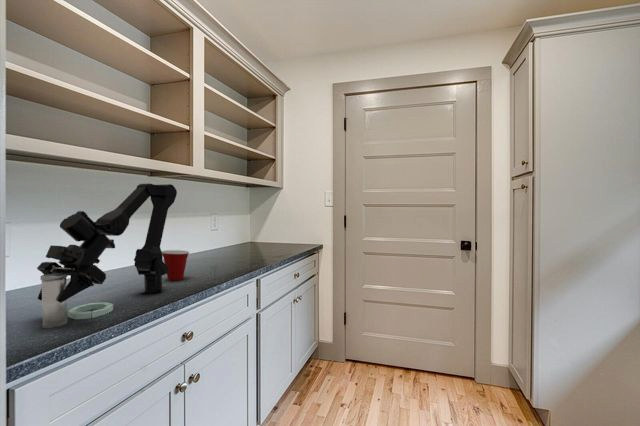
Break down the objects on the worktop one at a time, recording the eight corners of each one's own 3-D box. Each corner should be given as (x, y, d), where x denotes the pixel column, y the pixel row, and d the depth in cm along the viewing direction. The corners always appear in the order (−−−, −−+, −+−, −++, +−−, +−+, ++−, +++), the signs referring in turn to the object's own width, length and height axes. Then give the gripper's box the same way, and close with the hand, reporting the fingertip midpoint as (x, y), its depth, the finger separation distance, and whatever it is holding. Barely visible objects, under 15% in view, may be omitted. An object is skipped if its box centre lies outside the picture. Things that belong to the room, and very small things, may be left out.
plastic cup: (193, 279, 134) (193, 250, 134) (165, 283, 127) (164, 253, 127) (185, 275, 143) (185, 248, 142) (158, 278, 136) (158, 250, 136)
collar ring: (80, 308, 98) (80, 303, 98) (117, 306, 100) (117, 301, 100) (61, 320, 88) (61, 314, 88) (103, 317, 90) (103, 312, 90)
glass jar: (49, 321, 87) (48, 273, 87) (72, 319, 88) (71, 272, 88) (36, 329, 82) (35, 277, 81) (61, 327, 83) (60, 276, 82)
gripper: (43, 232, 91) (-4, 281, 80) (95, 234, 85) (50, 286, 75) (73, 256, 98) (32, 303, 88) (121, 259, 93) (84, 309, 83)
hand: (49, 300), depth 83 cm, fingers open, 7 cm apart
